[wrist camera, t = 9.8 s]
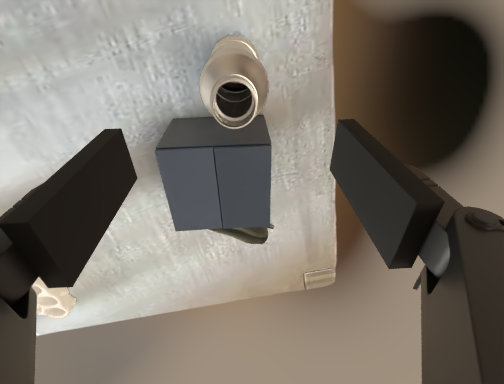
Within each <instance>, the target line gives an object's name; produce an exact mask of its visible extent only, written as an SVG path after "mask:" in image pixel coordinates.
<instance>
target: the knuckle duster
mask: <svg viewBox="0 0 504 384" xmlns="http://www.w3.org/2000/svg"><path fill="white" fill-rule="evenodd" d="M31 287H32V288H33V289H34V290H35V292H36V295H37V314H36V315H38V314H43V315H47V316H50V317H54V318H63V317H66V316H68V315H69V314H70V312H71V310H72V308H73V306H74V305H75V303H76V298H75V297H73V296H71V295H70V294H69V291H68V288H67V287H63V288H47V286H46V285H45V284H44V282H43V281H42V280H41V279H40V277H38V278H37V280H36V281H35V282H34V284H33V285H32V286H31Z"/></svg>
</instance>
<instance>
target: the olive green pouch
mask: <svg viewBox="0 0 504 384" xmlns="http://www.w3.org/2000/svg"><path fill="white" fill-rule="evenodd" d="M267 228H271V229H273V228H274V226H273V225H270V226H267V227H248V228H228V229H223V225H222V228H216V229H209V230H212V231H215V232H218V233H221V234H225V235H228V236H232V237H234V238H236V239H239V240H241V241H243V242H246V243H250V244H263V243H265V241H266V240H267V238H268V231H267Z"/></svg>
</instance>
